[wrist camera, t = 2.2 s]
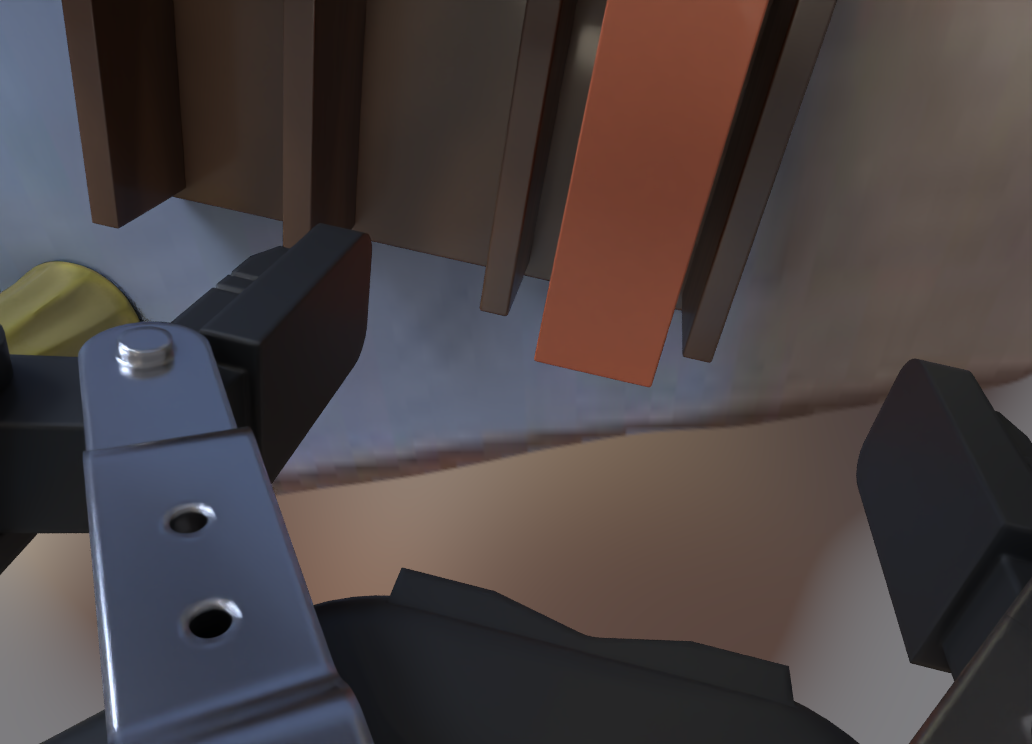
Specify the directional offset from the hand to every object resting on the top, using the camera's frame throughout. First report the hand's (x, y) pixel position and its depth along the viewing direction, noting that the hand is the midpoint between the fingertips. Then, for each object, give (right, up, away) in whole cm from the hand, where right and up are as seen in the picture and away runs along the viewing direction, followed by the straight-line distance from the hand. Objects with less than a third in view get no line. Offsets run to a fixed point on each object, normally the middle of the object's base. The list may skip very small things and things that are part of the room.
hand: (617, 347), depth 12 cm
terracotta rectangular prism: (+3, +9, +15) cm, 17 cm away
